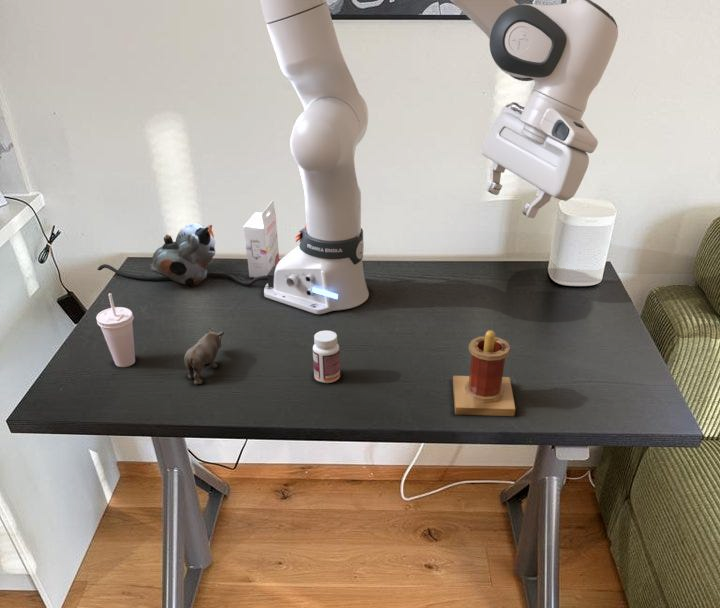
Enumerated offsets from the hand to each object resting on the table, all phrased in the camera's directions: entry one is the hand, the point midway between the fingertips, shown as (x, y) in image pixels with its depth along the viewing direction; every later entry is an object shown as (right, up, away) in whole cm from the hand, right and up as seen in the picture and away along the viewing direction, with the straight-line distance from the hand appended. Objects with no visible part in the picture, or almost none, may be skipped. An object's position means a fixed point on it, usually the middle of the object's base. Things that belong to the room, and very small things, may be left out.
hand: (509, 204), depth 127 cm
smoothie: (-69, -24, +15) cm, 75 cm away
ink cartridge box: (-47, +1, +45) cm, 65 cm away
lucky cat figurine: (-64, 0, +44) cm, 77 cm away
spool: (-3, -31, +4) cm, 31 cm away
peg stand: (-4, -32, +5) cm, 33 cm away
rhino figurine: (-53, -25, +14) cm, 60 cm away
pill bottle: (-31, -27, +11) cm, 43 cm away
